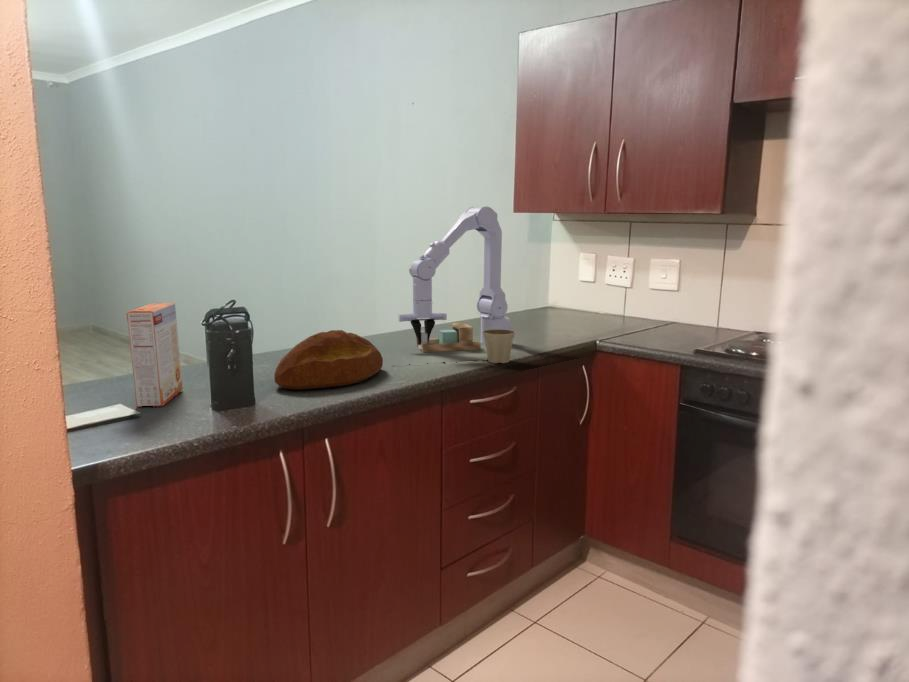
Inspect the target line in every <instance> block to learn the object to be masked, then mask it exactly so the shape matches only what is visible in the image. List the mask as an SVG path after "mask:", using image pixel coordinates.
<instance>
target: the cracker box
mask: <svg viewBox="0 0 909 682" xmlns="http://www.w3.org/2000/svg"><path fill="white" fill-rule="evenodd" d="M126 320H127V321H126V322H127V332H128V339H129V348H130V357H131V358H130V359H131V367H132V368H131V370H132V377H133V388H134V393H135V394H134V396H135V406H136V408H143V407H142V406H153V407H154V408H155V406H156V407H164V406H165V405H166V404H168V403H169V402H170V401H171V400H172V399H173V397H174V396H175V395H176V396H177V395H179V394H180V393H181V392H182V391H183V390H182V389H184V388H183V377H182V367H181V356H180V355H181V354H180V346H179V345H180V344H179V343H180V341H179V334H178V323H177V322H178V320H177V311H176V304H175V302H155V303H153V302H152V303H149V304H146V305H143V306H141V307H138V308H137V307H136V309H135V308H134V309H132V310H129V311H126ZM181 390H182V391H181ZM180 391H181V392H180ZM179 392H180V393H179ZM178 393H179V394H178ZM176 396H175V397H176ZM175 397H174V398H175Z"/></svg>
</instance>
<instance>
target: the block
mask: <svg viewBox="0 0 909 682" xmlns="http://www.w3.org/2000/svg"><path fill="white" fill-rule="evenodd" d="M438 333H439V334H438V336H439V343H457V332H456V331H455V330H452V329H439V330H438Z"/></svg>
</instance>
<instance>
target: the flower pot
mask: <svg viewBox="0 0 909 682" xmlns="http://www.w3.org/2000/svg"><path fill="white" fill-rule="evenodd" d="M483 333H484V338H485V342H486V344H485V348H486V356H487V363H490V362H491V364H498V363H501V364H507V363H508V364H509V362H510V360H511V352H512V346H513V342H514V339H515V334H516V333H517V332H516V331H515V330H512V329H511V330H505V329H491V330H484V331H483Z"/></svg>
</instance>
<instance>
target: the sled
mask: <svg viewBox="0 0 909 682" xmlns="http://www.w3.org/2000/svg"><path fill="white" fill-rule="evenodd" d="M457 343H458V342H457ZM422 344H427V333H426V332H425V330H421V345H418V347H419V348H420V349H419V348H418V347H417V348H418V349H419V350H420V351H421V350H422Z"/></svg>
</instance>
